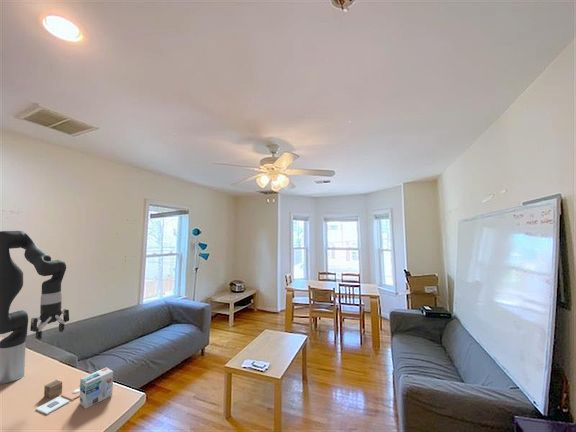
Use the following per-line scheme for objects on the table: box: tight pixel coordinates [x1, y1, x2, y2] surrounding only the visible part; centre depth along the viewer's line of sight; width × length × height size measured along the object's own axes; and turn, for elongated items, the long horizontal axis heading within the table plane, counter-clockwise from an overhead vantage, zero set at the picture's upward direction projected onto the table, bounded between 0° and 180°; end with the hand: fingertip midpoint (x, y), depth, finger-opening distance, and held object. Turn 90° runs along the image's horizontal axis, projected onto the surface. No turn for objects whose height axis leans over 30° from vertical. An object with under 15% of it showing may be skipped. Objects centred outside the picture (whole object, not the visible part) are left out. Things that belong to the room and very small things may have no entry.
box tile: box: [35, 395, 71, 415], centre depth 109 cm, size 8×8×1 cm
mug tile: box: [60, 384, 80, 401], centre depth 117 cm, size 8×8×1 cm
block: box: [43, 379, 63, 400], centre depth 116 cm, size 4×4×5 cm
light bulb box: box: [79, 366, 114, 409], centre depth 113 cm, size 11×7×11 cm, turn 148°
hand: (50, 335), depth 123 cm, fingers open, 8 cm apart
